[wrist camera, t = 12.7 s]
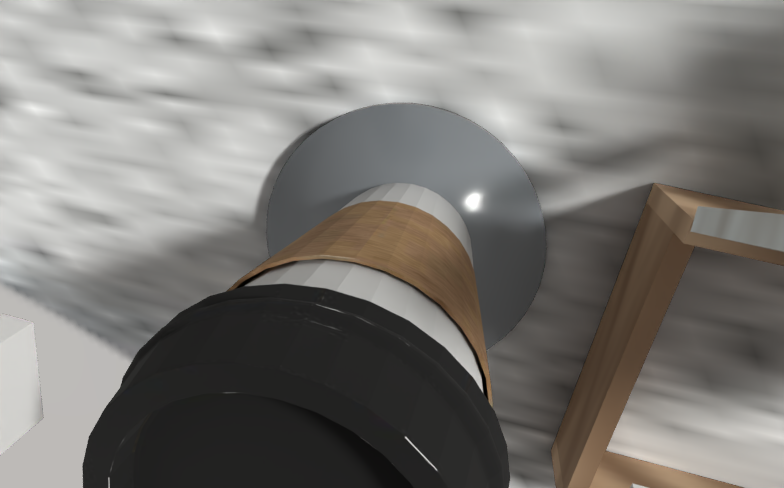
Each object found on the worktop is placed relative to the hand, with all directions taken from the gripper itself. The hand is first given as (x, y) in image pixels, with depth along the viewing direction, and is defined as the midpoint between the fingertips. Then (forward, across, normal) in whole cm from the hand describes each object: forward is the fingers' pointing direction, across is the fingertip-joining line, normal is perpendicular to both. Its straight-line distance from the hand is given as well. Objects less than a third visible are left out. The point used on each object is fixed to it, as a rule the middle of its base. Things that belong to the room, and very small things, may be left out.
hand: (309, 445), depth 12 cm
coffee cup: (+12, 0, 0) cm, 12 cm away
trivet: (+13, 0, 0) cm, 13 cm away
